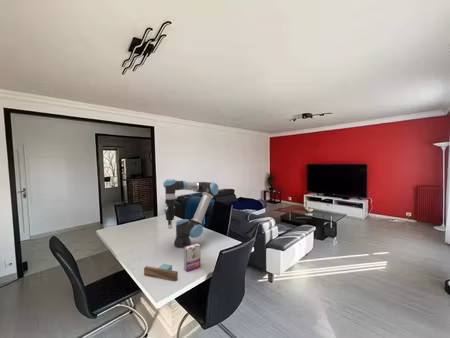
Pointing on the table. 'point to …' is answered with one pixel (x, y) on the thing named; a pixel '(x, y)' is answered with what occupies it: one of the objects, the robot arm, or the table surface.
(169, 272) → the curved walnut bar
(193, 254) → the candy bar box
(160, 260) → the table surface
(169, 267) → the teal block
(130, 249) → the table surface
